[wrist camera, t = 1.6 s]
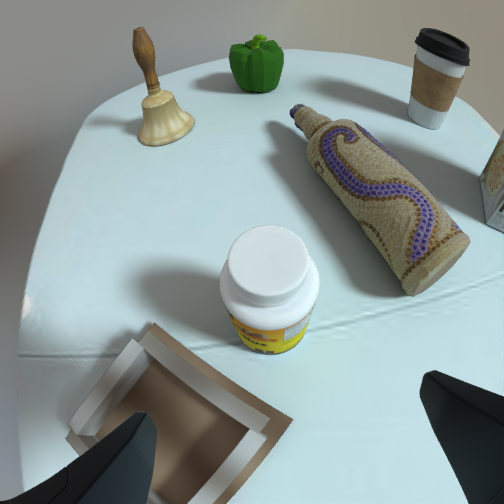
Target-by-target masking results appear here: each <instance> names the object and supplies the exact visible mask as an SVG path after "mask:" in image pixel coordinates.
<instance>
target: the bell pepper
mask: <svg viewBox="0 0 504 504" xmlns="http://www.w3.org/2000/svg"><path fill="white" fill-rule="evenodd" d="M266 39H267V38H266V37H265V36H264V35H260V34H259V35H256V36H254V38H253V40H250V41H248V42H245V44H235V45H232V46H231V49H230V54H229V61H230V67H231V70H232V73H233V75H234V78H235V80H236V82H237V84H238V85H239V86H240V87H241V88H242V89H243V90H244V91H253V90H254V91H256V92H262V93H264V92H269V91H272V90H274V89H275V88H276V87H277V85H278V83H279V80H280V76H281V72H282V68H283V64H284V53H283V51H282V49H281V47H279V46H278V44H277V43H276V42H275V41H274V40H271V41H266ZM259 40H260V41H259ZM265 41H266V42H265Z"/></svg>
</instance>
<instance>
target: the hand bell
mask: <svg viewBox="0 0 504 504" xmlns="http://www.w3.org/2000/svg"><path fill="white" fill-rule="evenodd" d="M133 52H134V56H135V58H136V61H137V63H138V64H139V66H140V67H141V69H142V70H143V73H144V76H145V80H146V84H147V89H148V94H149V95H148V96H147V97H146V98H145V99H144V100H143V101H142V110H143V117H144V121H143V126H142V128H141V129H140V132H139V140H140V142H141V143H143V144H144V145H148V146H159V145H165V144H168V143H171V142H173V141H176V140H178V139H180V138H182V137H183V136H185V135H186V134H187V133H188V132H189V131H190V130H191V129H192V128H193V126H194V118H193V117H192V116H191V115H190V114H189V113H187V112H185V111H183V110H182V109H181V108H180V107H179V105H178V104H177V102H176V100H175V98H174V95H173V93H172V92H170V91H165V90H164V91H163V90H161V88H160V86H159V85H160V83H159V81H158V78H157V74H156V71H155V50H154V45H153V42H152V40H151V38H150V37H149V35H148V34H147V33H146V31H145V29H144V27H139V28H136V29H134V30H133Z"/></svg>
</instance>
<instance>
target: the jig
mask: <svg viewBox="0 0 504 504" xmlns="http://www.w3.org/2000/svg"><path fill="white" fill-rule="evenodd" d="M138 411H139V412H148V413H149V414H150V416H151V418H152V420H153V422H154V424H155V426H156V429H157V442H156V452H155V462H154V471H153V476H152V481H151V486H150V490H149V495H148V499H147V504H226V503H227V502H228V501H229V500H230V499H231V498H232V497H233V496H234V495H235V493H236V492H237V491H238V490H239V489H240V488H241V487H242V485H243V484H244V483H245V482H246V481H247V479H248V478H249V477H250V476H251V475H252V473H253V472H254V471H255V470H256V469H257V467H258V466H259V465H260V464H261V462H262V461H263V460H264V459H265V457H266V456H267V455H268V453H269V452H270V451H271V450H272V448H273V447H274V446H275V444H276V443H277V442H278V440H279V439H280V438H281V436H282V435H283V433H284V432H285V431H286V429H287V428H288V426H289V425H290V424H291V422H292V421H293V419H292V418H290V417H288V416H287V415H285V414H283V413H282V412H280V411H278V410H277V409H275V408H273V407H272V406H270V405H269V404H267V403H265V402H264V401H262V400H261V399H259V398H257V397H256V396H254V395H253V394H251V393H250V392H248V391H247V390H245V389H244V388H242V387H240V386H239V385H238V384H236V383H235V382H233V381H232V380H230V379H229V378H227V377H226V376H224V375H223V374H221V373H220V372H219V371H217V370H216V369H214V368H213V367H212V366H210V365H209V364H207V363H206V362H205V361H203V360H202V359H201V358H199V357H198V356H196V355H195V354H194V353H192V352H191V351H190V350H188V349H187V348H186V347H185V346H183V345H182V344H181V343H179V342H178V341H177V340H176V339H174V338H173V337H172V336H170V335H169V334H168V333H167V332H165V331H164V330H163V329H162V328H160V327H159V326H158V325H157V324H156V323H153V324H152V326H151V327H150V328H149V329H148V331H147V332H146V333H145V334H144V336H143V337H142V338H141V339H140V341H139V342H137V341H136V340H134V339H133V338H132V339H131V341H130V342H129V343H128V344H127V346H126V347H125V348H124V350H123V351H122V352H121V353H120V355H119V356H118V357H117V358H116V360H115V361H114V362H113V364H112V365H111V366H110V367H109V369H108V370H107V371H106V373H105V374H104V375H103V377H102V378H101V379H100V381H99V382H98V383H97V384H96V386H95V387H94V388H93V390H92V391H91V392H90V394H89V395H88V396H87V398H86V399H85V400H84V402H83V403H82V404H81V406H80V407H79V408H78V410H77V411H76V413H75V414H74V415H73V417H72V418H71V419H70V421H69V422H68V425H69V426H70V427H71V428H72V429H71V431H70V432H69V434H68V435H67V437H66V438H65V439H66V440H67V442H68V443H69V444H70V445H71V446H72V448H73V449H74V450H75V451H76V452H77V453H78V455H79V456H81V455H82V454H83V453H85V452H86V451H87V450H88V449H90V448H91V447H92V446H94V445H95V444H96V443H97V442H99V441H100V440H101V439H103V438H104V437H105V436H106V435H108V434H109V433H110V432H111V431H113V430H114V429H115V428H117V427H118V426H119V425H120V424H122V423H123V422H124V421H125V420H126V419H128V418H129V417H130V416H131V415H133V414H134V413H135V412H138Z"/></svg>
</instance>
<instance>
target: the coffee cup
mask: <svg viewBox="0 0 504 504" xmlns="http://www.w3.org/2000/svg"><path fill="white" fill-rule="evenodd" d="M415 43H416V44H417V52H416V54H415V58H414V68H413V77H412V86H411V95H410V101H409V106H408V115H409V117H410V118H411V119H412V120H413V121H414V122H415V123H417V124H419V125H421V126H423V127H425V128H428V129H434V130H435V129H439V128H440V127H441V125H442V123H443V121H444V118H445V116H446V114H447V112H448V110H449V108H450V106H451V104H452V102H453V99H454V97H455V94H456V93H457V90H458V88H459V86H460V83H461V81H462V79H463V73H464V70H465V67H466V66H469V62H470V60H469V50H470V49H469V47H468V46H467V44H466V43H464V42H463V41H461V40H460V39H458V38H456V37H454V36H452V35H450V34H448V33H445V32H442V31H440V30H436V29H431V28H423V29H421V30H420V33H419V36H418V37H416V40H415Z"/></svg>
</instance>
